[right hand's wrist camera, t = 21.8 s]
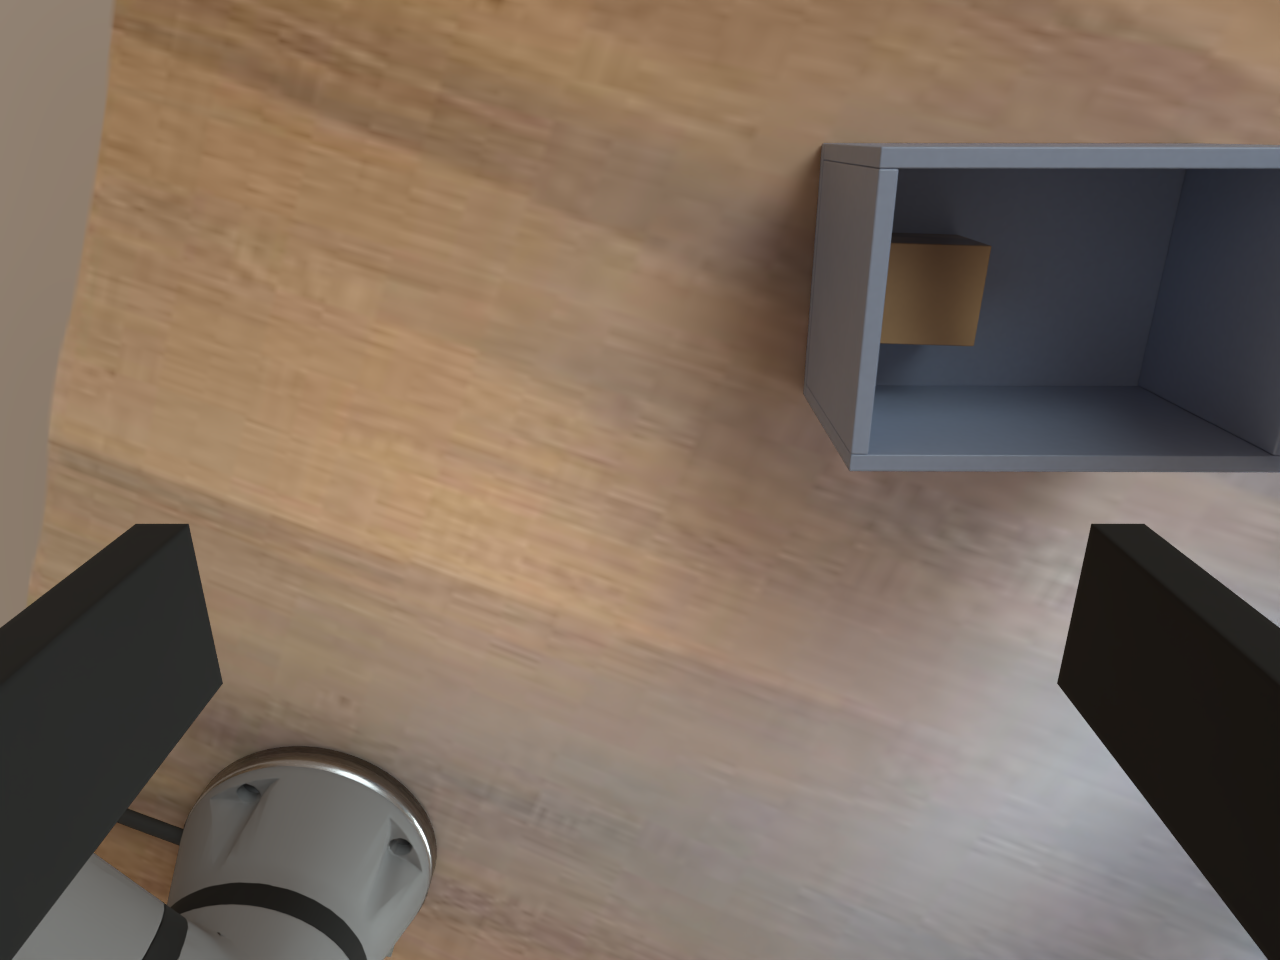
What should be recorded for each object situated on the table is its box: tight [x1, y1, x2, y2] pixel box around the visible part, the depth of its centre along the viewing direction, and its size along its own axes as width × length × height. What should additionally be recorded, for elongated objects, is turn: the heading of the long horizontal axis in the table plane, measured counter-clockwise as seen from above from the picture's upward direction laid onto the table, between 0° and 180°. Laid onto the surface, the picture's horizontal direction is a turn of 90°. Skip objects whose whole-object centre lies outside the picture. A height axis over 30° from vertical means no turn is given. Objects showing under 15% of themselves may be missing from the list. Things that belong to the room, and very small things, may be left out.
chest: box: [803, 143, 1280, 472], centre depth 36 cm, size 17×12×11 cm
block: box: [880, 233, 991, 346], centre depth 39 cm, size 4×4×4 cm
